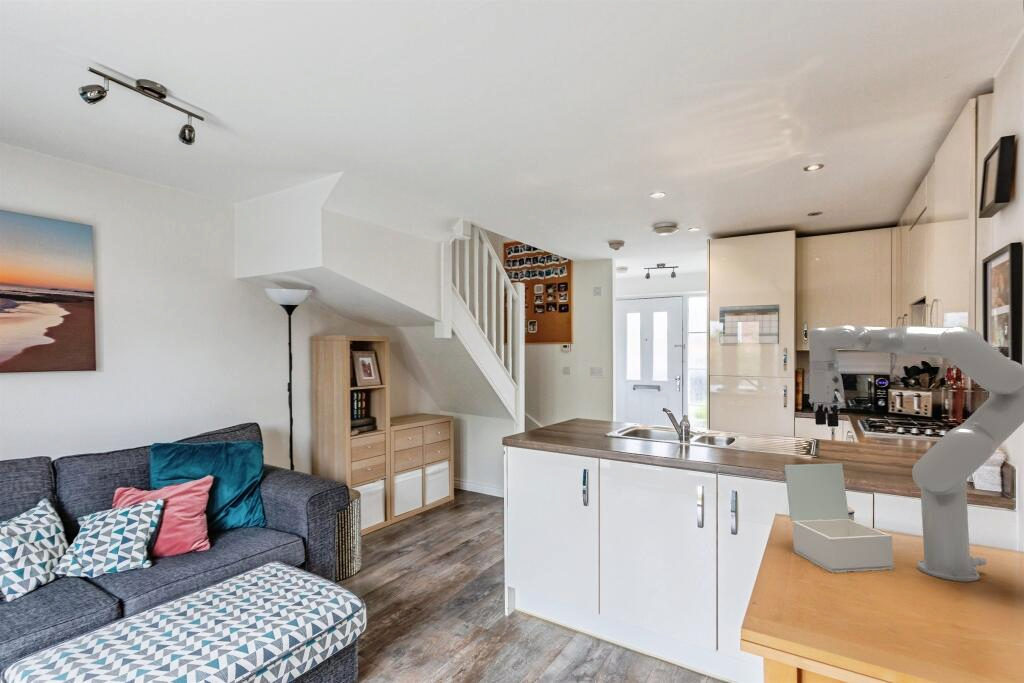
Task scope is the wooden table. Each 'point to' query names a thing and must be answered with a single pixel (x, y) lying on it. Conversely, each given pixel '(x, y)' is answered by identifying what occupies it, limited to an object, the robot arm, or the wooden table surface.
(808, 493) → the carton lid
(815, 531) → the carton
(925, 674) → the wooden table surface
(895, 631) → the wooden table surface
